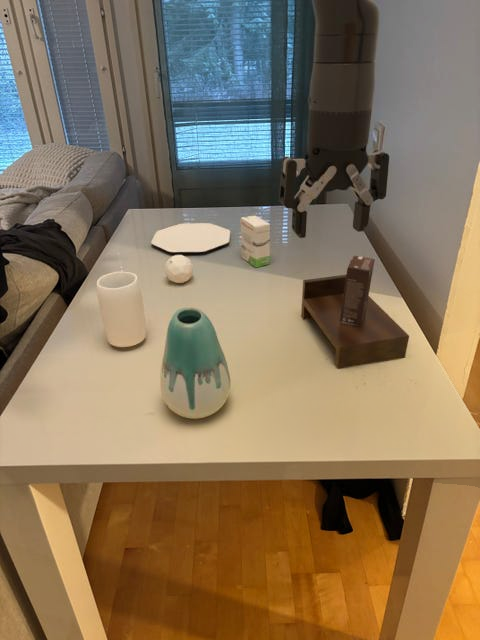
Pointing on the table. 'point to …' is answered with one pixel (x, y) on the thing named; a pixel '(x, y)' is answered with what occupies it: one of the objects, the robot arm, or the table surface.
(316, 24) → the robot arm
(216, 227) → the plate
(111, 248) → the table surface
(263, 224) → the ink box
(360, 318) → the box
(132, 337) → the cup
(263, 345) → the table surface
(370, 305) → the rack
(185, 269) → the ornament
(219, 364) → the vase
